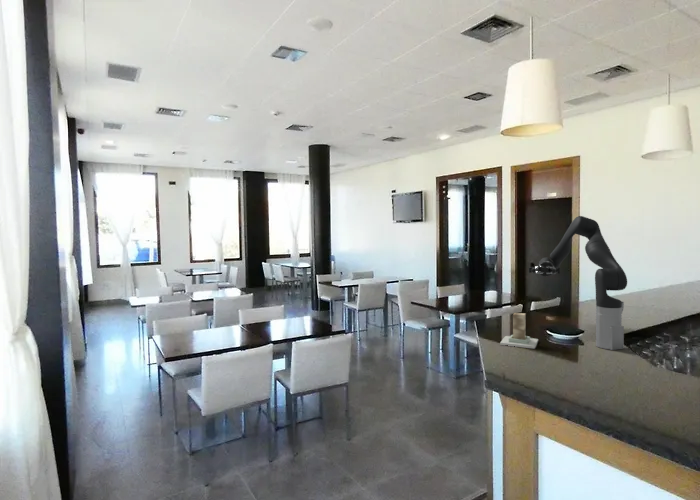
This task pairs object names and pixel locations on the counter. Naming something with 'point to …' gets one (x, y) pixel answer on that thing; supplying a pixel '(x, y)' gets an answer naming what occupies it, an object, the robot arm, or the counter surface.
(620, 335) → the robot arm
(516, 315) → the beige square block
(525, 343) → the base plate
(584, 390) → the counter surface
